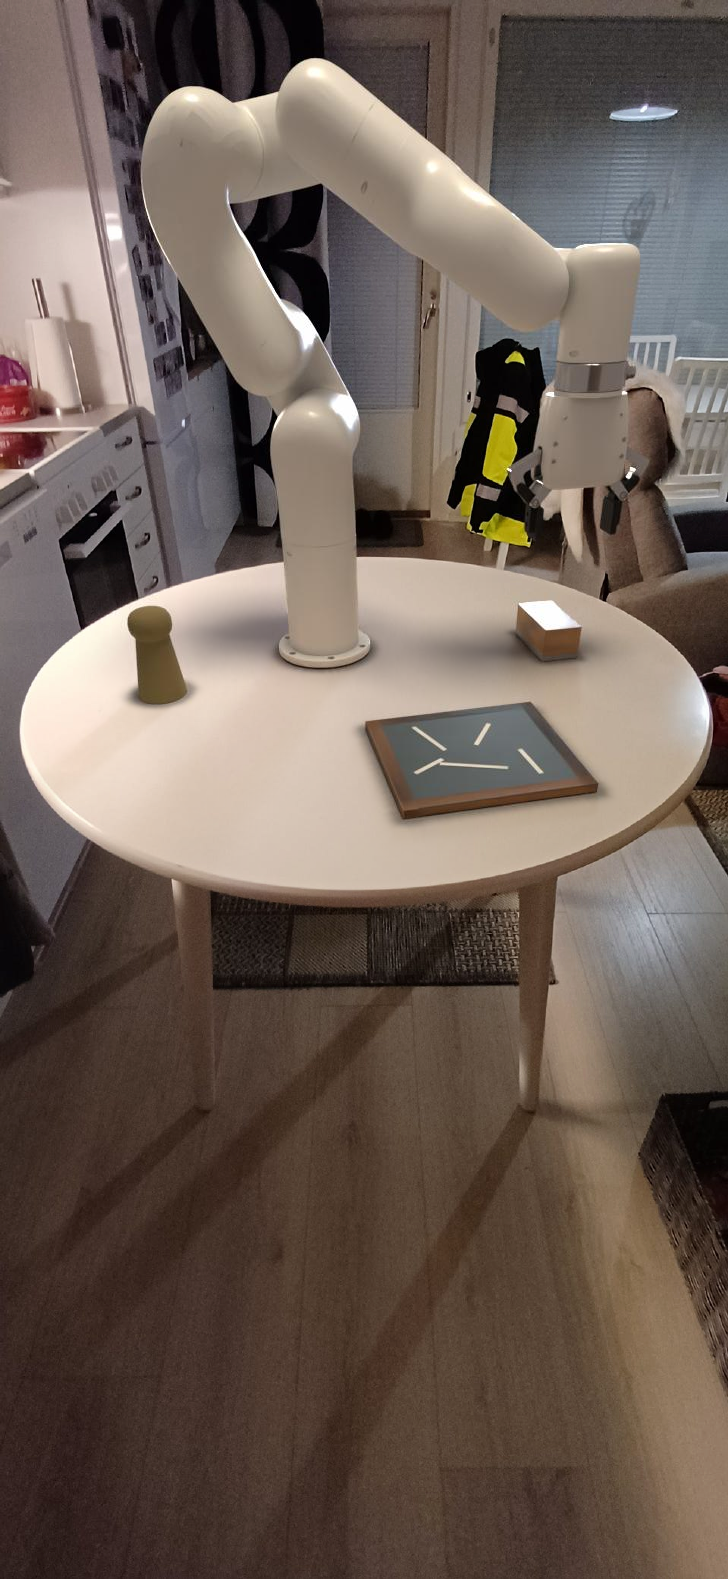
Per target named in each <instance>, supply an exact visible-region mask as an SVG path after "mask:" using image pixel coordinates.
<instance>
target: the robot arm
mask: <svg viewBox="0 0 728 1579" xmlns="http://www.w3.org/2000/svg"><path fill="white" fill-rule="evenodd" d="M140 179H141V180H140V181H141V191H142V196H143V198H142V199H143V201H144V206H145V210H146V214H147V216H148V217H147V218H148V220H149V223H150V226H151V229H152V231H153V233H154V236H155V238H156V240H157V243H158V244H159V246H160V248H161V250H162V253H163V255H164V256H165V258H166V259H167V262H168V263H169V265H170V267H171V268H172V270H173V272H174V274H175V275H176V277H177V279H178V280H179V282H180V284H181V286H182V288H183V289H184V291H185V293H186V295H187V296H188V298H189V300H190V302H191V303H192V304H191V305H192V306H193V307H194V310H195V311H196V314H197V315H198V316H199V319H200V321H201V322H202V324H203V325H204V327H205V329H206V332H208V335H209V336H210V337H211V339H212V341H213V342H214V344H215V347H216V348H217V349H218V351H219V353H220V355H221V356H222V359H223V361H224V363H225V364H226V366H227V368H228V370H229V372H230V374H231V375H232V377H233V378H234V380H235V381H236V383H237V384H238V385H239V386H240V387H242V388H243V390H245V391H247V392H248V393H250V394H252V395H254V396H259V397H265V398H266V399H267V401H268V403H269V404H270V406H271V408H272V409H273V411H274V413H275V415H276V416H277V419H276V420H275V423H274V425H273V428H272V432H271V437H270V447H269V448H270V450H269V451H270V461H271V462H270V463H271V469H272V470H271V471H272V475H273V481H274V486H275V492H276V498H277V499H276V500H277V505H278V506H277V507H278V515H279V517H278V518H279V529H280V539H281V544H282V545H281V546H282V560H283V572H284V584H285V598H286V607H287V620H288V633H286V634H285V635H284V636H283V637H282V638H281V639H280V640H279V643H278V651H279V654H280V656H281V657H282V658H283V659H284V660H285V661H287V662H289V663H291V664H294V665H297V666H301V667H306V668H316V669H318V668H319V669H321V668H323V669H324V668H325V669H326V668H336V667H342V666H346V665H349V664H352V663H355V662H358V661H360V660H361V659H363V658H364V657H365V656H366V655H368V653H369V652H370V650H371V639H370V637H369V635H367V634H366V633H365V632H363V630H360V629H359V596H358V593H359V592H358V562H357V560H358V559H357V558H358V557H357V533H356V530H357V529H356V528H357V527H356V505H355V492H354V491H355V489H354V474H353V473H354V472H353V460H354V459H353V457H354V453H355V451H356V449H357V447H358V444H359V441H360V436H361V420H360V416H359V411H358V409H357V407H356V404H355V402H354V401H353V398H352V396H351V395H350V393H349V390H348V388H347V386H346V385H345V382H344V381H343V380H342V377H341V375H340V374H339V372H338V369H337V368H336V366H335V364H334V362H333V360H332V357H331V356H330V354H329V351H327V349H326V347H325V345H324V342H323V341H322V339H321V337H320V335H319V333H318V332H317V330H316V328H315V326H314V324H313V323H312V321H311V320H310V319H309V316H307V315H306V314H305V312H304V311H303V310H302V309H301V308H300V307H298V306H297V305H295V304H294V303H292V302H290V301H288V300H286V299H283V298H280V297H279V295H278V294H277V293H276V291H275V288H274V287H273V285H272V283H271V282H270V280H269V278H268V277H267V276H268V275H267V274H266V273H265V271H264V270H263V268H262V266H261V263H260V261H259V259H258V257H257V254H256V253H255V251H254V249H253V247H252V245H251V243H250V242H249V240H248V239H247V237H246V235H245V234H244V232H243V231H242V229H241V228H240V226H239V224H238V223H237V220H236V219H235V217H234V214H233V211H232V209H231V206H230V204H241V203H246V202H247V203H248V202H252V201H254V200H259V199H265V198H267V197H271V196H275V195H279V194H284V193H288V192H294V191H297V190H301V189H305V188H309V187H313V186H316V185H320V184H321V185H322V186H324V187H325V188H326V189H327V190H329V191H330V192H332V193H333V194H334V195H335V196H336V197H338V198H339V199H340V200H341V201H342V202H344V203H346V204H347V205H348V207H350V208H352V209H353V210H354V211H355V212H357V213H358V214H359V215H360V216H362V217H363V218H364V219H366V220H367V221H368V222H369V223H370V224H372V225H373V226H374V227H375V228H377V229H378V230H379V231H380V232H382V233H383V234H384V235H386V236H387V237H388V238H389V239H391V240H392V241H393V242H395V243H396V244H397V245H398V246H400V247H401V248H402V249H403V250H404V251H406V252H408V254H411V255H413V256H415V257H417V258H419V259H420V260H423V261H424V262H425V263H427V264H428V265H430V266H431V267H433V268H434V269H435V270H437V271H438V272H439V273H440V274H442V275H443V276H445V277H446V278H447V279H448V280H449V281H451V283H453V284H454V285H456V286H457V287H458V288H459V289H461V290H462V291H463V292H465V293H466V294H467V295H468V296H469V297H471V298H472V299H474V300H475V301H476V302H477V303H478V304H480V305H481V306H482V307H483V308H485V309H486V310H487V311H488V312H490V313H491V314H492V315H493V316H495V317H496V318H497V319H498V320H500V321H501V322H502V323H503V324H505V325H506V326H507V327H509V328H510V329H511V330H514V331H517V332H523V333H530V332H535V331H540V330H541V329H543V328H545V327H547V326H548V325H550V324H551V323H553V322H558V321H559V331H558V342H557V352H556V361H555V372H554V382H553V392H547V393H545V396H544V399H543V403H542V406H541V410H540V414H539V418H538V423H537V427H536V432H535V439H534V444H533V449H532V450H533V451H532V452H529V453H528V454H527V455H525V456H524V457H521V458H520V459H519V460H517V461H516V462H514V463H513V464H511V465H509V466H508V467H507V469H506V473H507V476H508V477H509V480H510V483H511V485H512V486H513V487H512V488H513V491H514V492H515V493H516V494H517V495H518V496H519V497H520V498H521V499H522V501H523V502H524V503H525V512H524V524H523V530H524V533H526V536H527V537H528V538H529V539H531V540H532V541H533V542H540V541H541V540H542V535H543V524H544V514H545V509H544V507H543V506H541V504H542V503H543V502H544V501H545V499H546V498H547V497H548V496H549V494H550V493H551V492H552V491H561V490H574V489H575V490H576V489H589V488H599V487H604V488H605V490H606V492H607V493H608V494H607V495H604V497H603V499H602V506H601V511H600V512H601V514H600V520H599V529H600V530H601V531H603V532H605V533H606V534H608V535H609V536H614V535H616V534H617V528H618V526H619V525H620V522H621V521H620V520H621V515H622V509H623V502H625V501H626V500H627V498H628V497H629V494H630V493H631V492H632V490H634V489H635V488H636V487H637V485H638V484H639V483H640V480H641V477H642V476H643V475H644V473H645V471H646V470H647V468H648V466H649V465H650V459H649V458H648V457H647V456H644V455H643V454H641V453H639V452H637V451H636V450H634V449H633V448H631V447H629V446H628V438H629V399H628V398H629V397H628V392H627V391H624V388H625V387H626V381H627V380H629V379H630V380H631V379H634V378H635V377H636V374H637V367H636V365H634V364H632V365H630V364H629V360H628V355H629V349H630V343H631V342H630V341H631V335H632V328H633V327H632V326H633V320H634V314H635V307H636V301H637V292H638V285H639V278H640V272H641V262H642V258H641V257H642V256H641V252H640V250H639V248H638V247H637V246H636V245H634V244H632V243H627V242H623V243H622V242H621V243H617V242H616V243H615V242H614V243H611V242H610V243H593V244H583V245H579V246H577V247H575V248H559V247H554V246H553V245H551V244H550V243H549V242H548V241H546V240H545V238H543V236H542V237H541V235H540V234H538V233H537V232H536V231H535V230H533V229H532V228H531V227H530V226H529V225H527V223H525V222H524V221H523V220H522V219H520V218H519V217H517V215H515V214H514V213H513V212H511V210H510V209H508V208H507V207H506V206H504V205H503V204H502V203H500V202H499V201H498V199H496V198H494V197H493V196H492V195H491V194H490V193H488V192H487V191H486V190H485V189H483V187H481V186H480V185H479V184H478V183H476V182H475V181H474V180H473V179H472V178H470V177H469V175H467V174H466V173H465V172H464V171H463V169H461V168H460V166H458V164H456V163H455V162H454V161H453V160H452V159H451V158H450V157H448V156H447V155H446V154H445V153H444V152H443V151H441V150H440V149H439V148H437V146H435V144H433V143H432V142H430V141H429V139H428V140H427V138H425V137H424V136H423V135H422V134H420V132H418V131H417V130H416V129H414V128H413V127H412V126H411V125H410V124H409V123H407V122H406V121H405V120H404V119H402V118H401V117H400V116H399V115H397V113H395V111H392V109H390V108H389V107H388V106H387V105H385V103H384V102H382V101H381V100H380V99H378V97H376V96H375V95H374V94H373V93H372V92H370V90H368V89H367V88H365V87H364V86H363V85H362V84H361V83H360V82H358V81H357V80H356V79H355V78H353V77H352V76H351V75H350V74H349V73H348V72H346V71H345V70H344V69H342V68H341V67H339V66H338V65H336V64H335V63H333V62H331V61H330V60H326V59H324V58H317V57H314V58H312V57H311V58H308V59H304V60H303V61H300V62H299V63H297V64H296V65H295V66H294V67H292V68H291V69H290V71H289V72H288V73H287V74H286V76H285V77H284V79H283V81H282V83H281V85H280V88H279V91H275V92H273V93H269V94H266V95H265V94H264V95H261V96H257V97H252V98H248V99H243V100H240V101H235V102H232V101H231V100H229V99H227V98H226V97H225V96H223V95H222V94H221V93H219V92H218V91H215V90H213V89H210V88H207V87H203V86H192V85H191V86H183V87H181V88H178V89H176V90H174V91H172V92H170V94H169V93H168V95H167V96H166V97H165V98H164V99H163V100H162V101H161V103H160V104H159V105H158V106H157V108H156V109H155V111H154V114H153V115H152V118H151V120H150V122H149V125H148V127H147V130H146V134H145V137H144V141H143V146H142V152H141V162H140ZM626 461H627V462H629V463H630V464H631V465H630V468H629V471H628V472H627V473H626V474H625V475H624V471H625V466H626ZM529 471H530V477H531V479H532V481H533V482H532V484H531V485H530V486H528V485H527V484H526V482H525V478H524V476H525V474H526V473H527V472H529Z"/></svg>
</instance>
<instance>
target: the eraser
mask: <svg viewBox="0 0 728 1579" xmlns="http://www.w3.org/2000/svg"><path fill="white" fill-rule="evenodd" d="M582 628H583V626H582V625H580V624H579V623H578V622H577V621H576V620H575V619H574V618H572V617H571V616H570V615H569V614H568V613H567V612H566V611H564V610H563V608H561V607H560V606H559V605H557V604H556V603H555V602H554V601H553V600H542V601H541V600H540V601H531V602H523V603H521V602H520V603H518V604H517V612H516V622H515V634H516V635H517V636H518V637H519V639H521V640H522V642H523V643H524V644H525V645H526V646H527V647H528V648H529V649H530V650H531V651H532V652H533V653H534V654H535V656H537V658H538V659H539V660H540V662H550V661H559V660H560V661H561V660H568V659H569V660H570V659H577V658H578V656H579V648H580V642H581V635H582Z"/></svg>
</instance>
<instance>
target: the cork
mask: <svg viewBox="0 0 728 1579" xmlns="http://www.w3.org/2000/svg"><path fill="white" fill-rule="evenodd" d="M126 623H127V629H128V632H129V633H130V636H132V637H133V638H134V641H135V658H136V674H137V689H138V690H137V691H138V692H137V693H138V699H139V700H140V701H142V703H145V704H151V705H163V704H169V703H172V702H176V701H178V700H181V699H182V698H183V697H184V696H185V695H186V694H187V692H188V688H187V685H186V681H185V679H184V676H183V673H182V669H181V666H180V664H179V660H178V657H177V653H176V650H175V648H174V644H173V641H172V638H171V635H170V634H171V633H172V630H173V620H172V616H171V614H170V612H169V611H168V610H167V609H166V608H165V607H162V606H160V605H145V606H139V607H137V608H135V609H133V610H132V611H131V612H130V613H128V616H127V622H126Z"/></svg>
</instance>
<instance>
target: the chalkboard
mask: <svg viewBox="0 0 728 1579" xmlns="http://www.w3.org/2000/svg"><path fill="white" fill-rule="evenodd" d="M364 725H365V728H364V729H365V731H366V733H367V736H368V739H369V740H370V743H371V745H372V748H373V750H374V753H375V755H376V757H377V760H378V762H379V764H380V767H381V769H382V772H383V774H384V777H385V778H386V781H387V784H388V787H389V788H390V791H391V793H392V795H393V798H394V800H395V802H396V805H397V807H398V810H399V812H400V814H401V817H402V819H410V818H419V817H425V816H431V815H439V814H446V813H453V812H460V811H467V810H468V811H469V810H475V809H482V808H489V807H495V806H496V807H497V806H502V805H504V806H505V805H511V804H518V803H525V802H532V801H539V800H547V799H553V798H559V797H567V796H568V797H569V796H575V795H582V794H583V795H584V794H589V793H596V792H598V789H599V782H597V780H596V779H595V777H594V776H593V775H592V773H590V772H589V770H588V769H587V768H586V767H585V765H584V764H583V763H582V762H581V760H580V759H579V758H578V757H577V756H576V755H575V753H574V752H573V751H572V749H570V747H569V746H568V745H567V744H566V743H565V741H564V740H563V739H562V738H561V736H560V735H559V734H558V733H557V731H556V730H555V729H554V728H553V727H552V725H551V724H550V723H549V722H548V721H547V719H545V716H543V715H542V714H541V713H540V711H539V710H538V709H537V707H536V706H535V704H533V702H531V701H525V702H516V703H508V704H507V703H506V704H499V705H498V704H497V705H490V706H482V707H481V706H480V707H474V708H466V709H457V710H449V711H447V710H446V711H439V712H432V713H423V714H414V715H406V716H398V717H390V718H389V717H388V718H381V719H372V720H365V722H364Z"/></svg>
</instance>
